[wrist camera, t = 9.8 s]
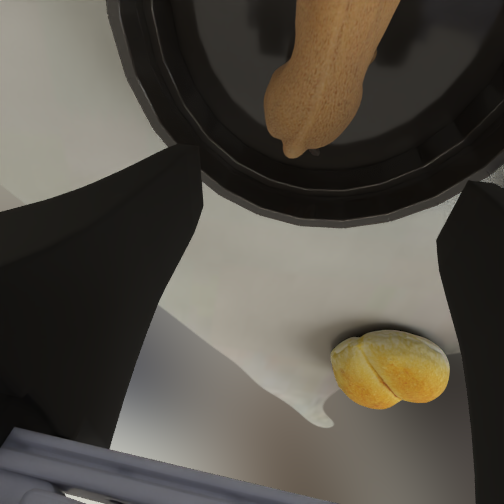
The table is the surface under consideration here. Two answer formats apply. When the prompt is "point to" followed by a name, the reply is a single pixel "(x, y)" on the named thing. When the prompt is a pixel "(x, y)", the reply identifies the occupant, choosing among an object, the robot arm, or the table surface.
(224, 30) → the dark grey round bowl
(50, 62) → the table surface
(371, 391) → the bread roll
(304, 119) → the lion figurine
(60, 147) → the table surface
